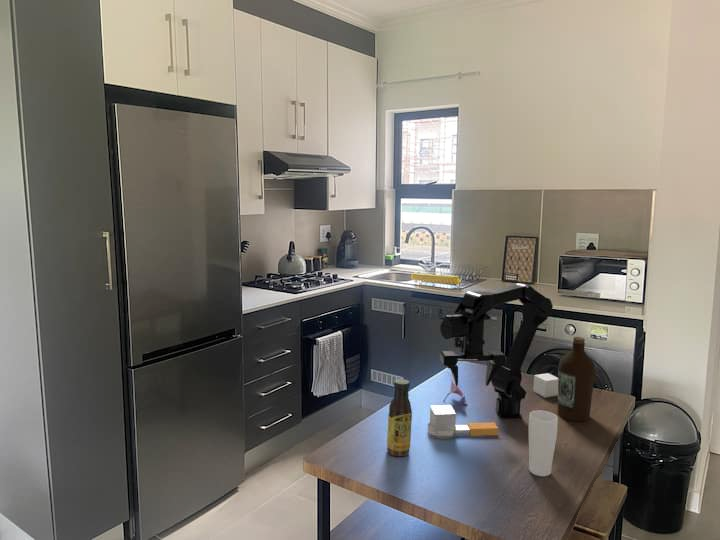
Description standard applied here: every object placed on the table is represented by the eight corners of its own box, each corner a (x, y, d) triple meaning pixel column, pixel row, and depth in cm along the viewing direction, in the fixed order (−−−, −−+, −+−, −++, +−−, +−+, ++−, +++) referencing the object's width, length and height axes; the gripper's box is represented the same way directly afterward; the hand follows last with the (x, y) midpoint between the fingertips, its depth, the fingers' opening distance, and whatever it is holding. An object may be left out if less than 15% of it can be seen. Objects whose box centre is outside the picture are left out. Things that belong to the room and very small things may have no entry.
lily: (460, 415, 169) (475, 388, 169) (428, 395, 173) (443, 369, 173) (465, 412, 180) (478, 387, 180) (434, 393, 184) (448, 369, 184)
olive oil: (573, 406, 174) (579, 332, 170) (599, 419, 164) (606, 341, 160) (547, 411, 170) (553, 335, 166) (572, 425, 160) (579, 345, 156)
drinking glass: (553, 467, 136) (558, 412, 134) (554, 481, 130) (558, 423, 127) (526, 462, 138) (529, 408, 136) (525, 476, 132) (528, 419, 130)
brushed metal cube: (450, 421, 157) (450, 405, 156) (455, 430, 151) (455, 413, 150) (429, 421, 157) (430, 405, 156) (434, 430, 151) (434, 414, 150)
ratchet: (491, 426, 159) (492, 409, 158) (500, 438, 151) (501, 420, 151) (425, 427, 158) (425, 410, 157) (430, 440, 150) (431, 422, 149)
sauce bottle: (394, 460, 139) (395, 387, 136) (382, 449, 145) (383, 379, 141) (415, 454, 142) (417, 383, 139) (402, 444, 148) (404, 375, 144)
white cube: (547, 389, 189) (548, 373, 188) (558, 395, 183) (560, 378, 182) (533, 391, 187) (534, 375, 186) (544, 397, 181) (545, 380, 180)
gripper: (496, 327, 165) (493, 375, 168) (436, 327, 164) (435, 376, 166) (508, 337, 154) (505, 388, 157) (445, 338, 153) (443, 390, 155)
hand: (471, 385), depth 159 cm, fingers open, 9 cm apart
